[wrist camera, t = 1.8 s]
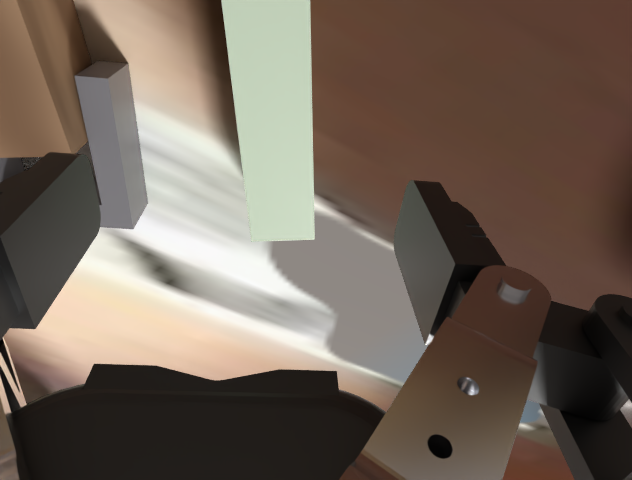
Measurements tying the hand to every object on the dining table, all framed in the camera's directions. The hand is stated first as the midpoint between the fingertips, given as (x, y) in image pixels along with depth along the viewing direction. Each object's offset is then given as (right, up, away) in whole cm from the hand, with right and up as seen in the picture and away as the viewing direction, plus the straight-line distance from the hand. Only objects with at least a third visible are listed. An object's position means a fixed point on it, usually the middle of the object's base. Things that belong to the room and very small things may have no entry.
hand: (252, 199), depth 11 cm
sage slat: (-1, +8, +12) cm, 15 cm away
